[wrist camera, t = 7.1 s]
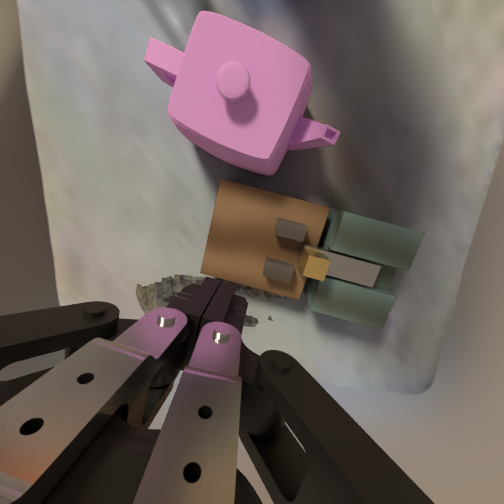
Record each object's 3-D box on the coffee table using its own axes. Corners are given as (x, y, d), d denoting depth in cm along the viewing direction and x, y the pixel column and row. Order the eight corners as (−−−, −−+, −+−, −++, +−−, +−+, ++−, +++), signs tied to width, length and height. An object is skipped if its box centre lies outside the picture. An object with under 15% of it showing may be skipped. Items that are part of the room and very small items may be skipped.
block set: (227, 180, 30) (216, 177, 24) (394, 225, 29) (425, 232, 24) (208, 263, 33) (195, 278, 27) (361, 305, 32) (381, 330, 26)
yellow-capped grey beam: (303, 242, 27) (309, 253, 22) (374, 261, 26) (396, 276, 22) (296, 263, 27) (301, 277, 22) (366, 282, 27) (386, 300, 22)
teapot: (342, 108, 27) (382, 59, 17) (299, 196, 30) (312, 198, 20) (194, 37, 27) (148, -55, 17) (163, 133, 29) (107, 102, 19)
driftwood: (138, 309, 36) (131, 316, 34) (138, 265, 34) (130, 270, 32) (279, 327, 35) (280, 336, 33) (285, 283, 33) (287, 289, 31)
